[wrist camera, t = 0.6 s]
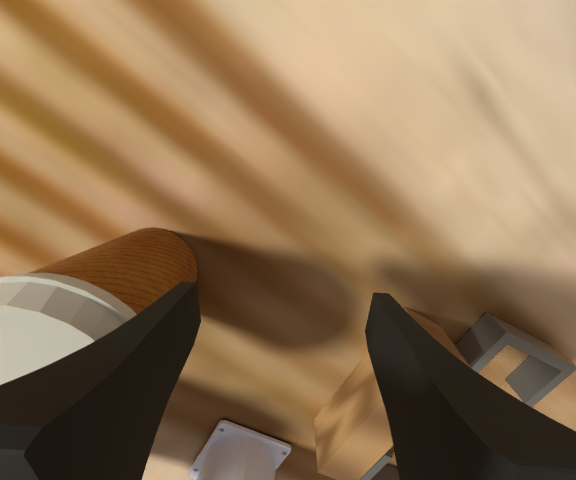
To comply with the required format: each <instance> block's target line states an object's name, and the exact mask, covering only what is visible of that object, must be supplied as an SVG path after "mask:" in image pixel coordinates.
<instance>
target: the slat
mask: <svg viewBox="0 0 576 480" xmlns="http://www.w3.org/2000/svg"><path fill="white" fill-rule="evenodd" d="M403 309H404V310H405V311H406V312H407V313H408V314H409V315H410V316H411V317H412V318H413V319H414V320H415V321H416V322H417V323H418V324H419V325H420V326H421V327H423V328H424V329H425V330H426V331H427V332H428V333H429V334H430V335H431V336H432V337H433V338H434V339H436V340H437V341H438V342H439V343H440V344H441V345H443V346H444V347H445V348H446V349H447V350H448V351H450V352H451V353H452V354H453V355H455V356H456V357H457V358H458V359H460V360H461V361H462V362H464V363H465V364H466V365H468V363H467V362H466V360H465V359H464V358H463V356H462V355H461V354H460V352H459V351H458V350H457V348H456V347H455V345H454V344H453V343H452V341H451V340H450V339H449V337H448V336H447V335H446V333H445V332H444V330H443V329H442V328H441V326H440V325H439V324H438V323H436V322H434V321H432V320H430V319H428V318H426V317H424V316H422V315H420V314H418V313H416V312H414V311H412V310H410V309H408V308H406V307H404V308H403ZM468 366H469V365H468ZM469 367H470V366H469ZM470 368H471V367H470ZM314 426H315V441H316V456H317V470H318V473H320V474H322V475H325V476H328V477H331V478H333V479H336V480H359V479H360V478H361V477H362V476H363V475H364V474H365V473H366V472H367V471H368V470H369V469H370V468H371V467H372V466H373V465H374V464H375V463H376V462H377V461H378V460H379V459H380V458H381V457H382V456H383V455H384V454H385V453H386V452H387V451H388V450H389V449H390V448H391V447H392V446H393V441H392V436H391V431H390V426H389V421H388V418H387V414H386V410H385V406H384V403H383V400H382V396H381V393H380V390H379V387H378V383H377V380H376V377H375V373H374V370H373V367H372V363H371V360H370V356H369V352H368V353H367V354H366V356H365V357H364V358H363V359H362V361H361V362H360V363H359V364H358V366H357V367H356V368H355V369H354V371H353V372H352V373H351V374H350V376H349V377H348V378H347V379H346V380H345V382H344V383H343V384H342V385H341V387H340V388H339V389H338V390H337V392H336V393H335V394H334V395H333V397H332V398H331V399H330V400H329V402H328V403H327V404H326V405H325V407H324V408H323V409H322V410H321V412H320V413H319V414H318V415H317V417H316V418H315V419H314Z"/></svg>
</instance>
